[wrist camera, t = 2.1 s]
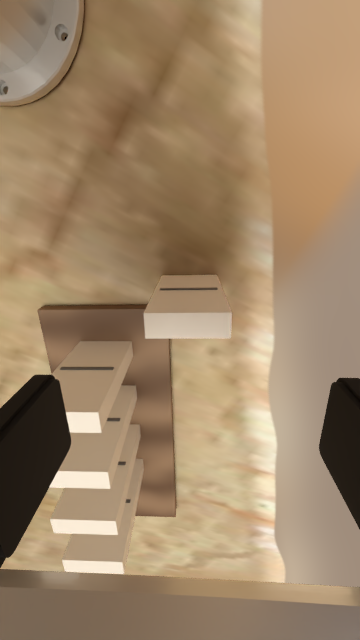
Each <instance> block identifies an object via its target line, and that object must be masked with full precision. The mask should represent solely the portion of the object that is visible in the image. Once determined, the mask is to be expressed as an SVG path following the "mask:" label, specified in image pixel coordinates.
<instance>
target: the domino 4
mask: <svg viewBox="0 0 360 640" xmlns="http://www.w3.org/2000/svg"><path fill="white" fill-rule="evenodd" d="M143 471H144V465H143V459H135V463H134V467H133V472H132V476H131V480H130V485H129V489H128V494H127V498H126V502H125V507H124V511H123V515H122V520H121V524H120V528H119V533H118V535H101V534H71V537H70V540H69V542H68V545H67V548H66V550H65V553H64V556H63V558H62V562H63V566H64V569H65V572H88V573H114V574H124V572H125V567H126V562H127V556H128V551H129V546H130V540H131V535H132V530H133V524H134V519H135V514H136V508H137V503H138V498H139V492H140V487H141V482H142V477H143Z"/></svg>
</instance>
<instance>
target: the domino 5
mask: <svg viewBox="0 0 360 640" xmlns="http://www.w3.org/2000/svg"><path fill="white" fill-rule="evenodd" d="M231 325H232V311H231V308H230V306H229V303H228V301H227V298H226V296H225V293H224V291H223V288H222V286H221V283H220V281H219V278H218V276H217V275H162V276H161V278H160V280H159V282H158V284H157V286H156V288H155V290H154V292H153V294H152V296H151V299H150V301H149V303H148V305H147V307H146V309H145V311H144V327H145V339H196V338H231Z"/></svg>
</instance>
